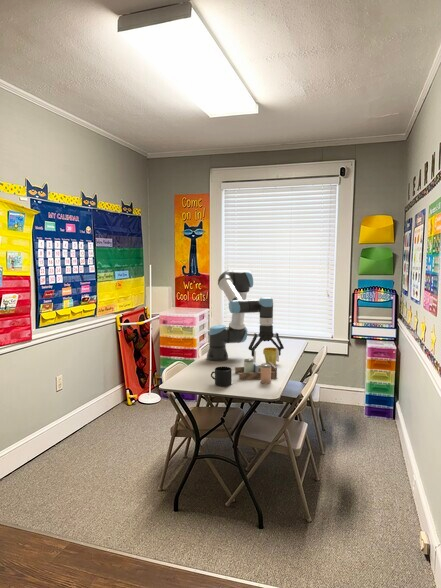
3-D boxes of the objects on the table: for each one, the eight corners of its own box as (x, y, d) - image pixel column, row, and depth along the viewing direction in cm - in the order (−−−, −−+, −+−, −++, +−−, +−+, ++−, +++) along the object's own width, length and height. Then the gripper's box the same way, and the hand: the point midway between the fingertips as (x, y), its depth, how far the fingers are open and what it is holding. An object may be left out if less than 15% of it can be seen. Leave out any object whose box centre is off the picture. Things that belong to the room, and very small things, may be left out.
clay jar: (261, 383, 229) (262, 366, 228) (259, 380, 235) (259, 364, 234) (272, 383, 230) (272, 366, 229) (269, 380, 236) (269, 363, 235)
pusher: (256, 377, 240) (256, 365, 240) (252, 372, 251) (252, 361, 251) (262, 377, 241) (262, 365, 240) (257, 371, 252) (257, 360, 251)
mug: (213, 380, 235) (213, 365, 234) (233, 382, 231) (233, 367, 231) (208, 385, 226) (207, 369, 226) (228, 387, 222) (228, 371, 222)
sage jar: (245, 377, 242) (245, 361, 241) (243, 374, 248) (243, 358, 247) (254, 376, 243) (255, 360, 242) (252, 373, 249) (252, 358, 248)
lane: (239, 379, 237) (239, 369, 237) (235, 372, 251) (235, 363, 251) (276, 377, 240) (276, 367, 240) (270, 371, 255) (270, 361, 254)
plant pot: (266, 365, 268) (266, 351, 267) (260, 361, 278) (261, 347, 277) (281, 364, 270) (281, 350, 270) (274, 360, 280) (275, 346, 279)
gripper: (246, 326, 224) (246, 364, 226) (289, 325, 228) (289, 362, 229) (243, 324, 231) (243, 360, 233) (285, 323, 235) (285, 359, 237)
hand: (266, 361), depth 231 cm, fingers open, 13 cm apart
